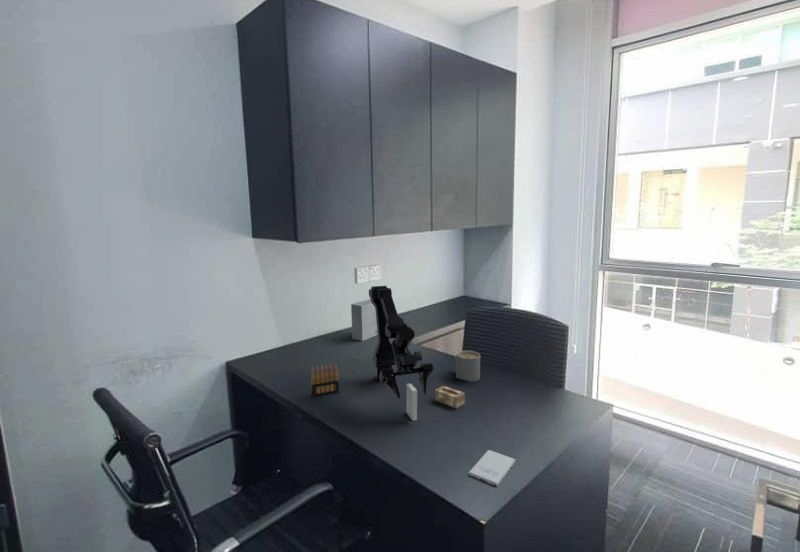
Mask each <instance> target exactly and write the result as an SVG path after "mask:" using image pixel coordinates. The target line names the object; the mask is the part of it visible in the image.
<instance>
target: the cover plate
mask: <svg viewBox="0 0 800 552" xmlns="http://www.w3.org/2000/svg"><path fill="white" fill-rule="evenodd" d="M406 414H407V416H408V417H409V418H410V419H411V420H412V421H418V390H417V388H416V387H415V386H414V385H413V384H412V383H406Z"/></svg>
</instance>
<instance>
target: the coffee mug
mask: <svg viewBox="0 0 800 552" xmlns="http://www.w3.org/2000/svg"><path fill="white" fill-rule="evenodd" d="M454 364H455V378H456V379H459V380H462V381H466V382H468V383H472V382H473V383H474V382H477V381H479V380H480V378H481V374H480V373H481V354H480V353H479V352H477V351H474V350H461V351H457V352H456V354H455V357H454Z"/></svg>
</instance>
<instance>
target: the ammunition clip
mask: <svg viewBox="0 0 800 552" xmlns="http://www.w3.org/2000/svg"><path fill="white" fill-rule="evenodd" d="M310 371H311V372H310V373H311V375H310V397H311V398H317V397H322V396H323V397H324V396H328V395H334V394H339V393H340V385H339V372H338V365H337V362H334V366H333V364H332V363H330V365H329V367H328V364H325V366H324V365H322V364H321V366H320V368H319V365H316V368H314V366H312V367H311V370H310Z"/></svg>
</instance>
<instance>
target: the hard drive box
mask: <svg viewBox="0 0 800 552" xmlns="http://www.w3.org/2000/svg"><path fill="white" fill-rule="evenodd" d="M350 307H351V309H350V311H351V336H352V340H356V341H360V342H363V341H366V340H369V339H371V338H373V337H376V336H377V337H378V332H377V321H376V310H375V307H374V305H373V304H372V303H371V299H370V298H368V299H364V300H360V301H357V302H354V303H352V304H350Z"/></svg>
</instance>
